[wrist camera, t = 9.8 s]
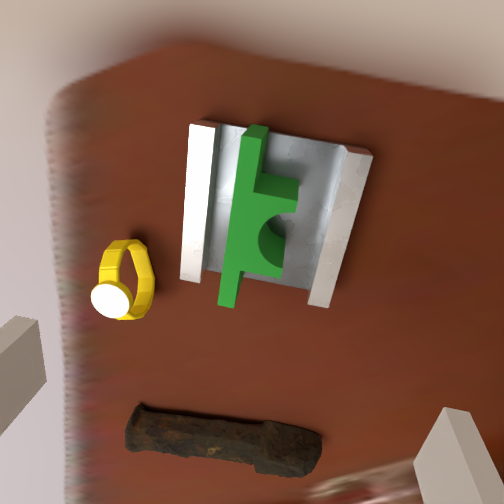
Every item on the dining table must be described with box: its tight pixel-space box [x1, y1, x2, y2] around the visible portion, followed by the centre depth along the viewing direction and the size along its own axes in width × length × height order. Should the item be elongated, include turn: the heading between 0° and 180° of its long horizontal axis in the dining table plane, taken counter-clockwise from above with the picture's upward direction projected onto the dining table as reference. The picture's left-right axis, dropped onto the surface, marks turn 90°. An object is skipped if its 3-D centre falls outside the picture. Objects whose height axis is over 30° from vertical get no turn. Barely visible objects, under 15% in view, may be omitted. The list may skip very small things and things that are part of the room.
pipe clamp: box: [218, 124, 299, 308], centre depth 24 cm, size 11×4×5 cm, turn 171°
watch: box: [91, 239, 155, 320], centre depth 28 cm, size 6×3×6 cm, turn 8°
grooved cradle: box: [180, 119, 373, 308], centre depth 26 cm, size 11×11×3 cm
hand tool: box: [125, 404, 322, 478], centre depth 36 cm, size 19×4×5 cm, turn 88°
